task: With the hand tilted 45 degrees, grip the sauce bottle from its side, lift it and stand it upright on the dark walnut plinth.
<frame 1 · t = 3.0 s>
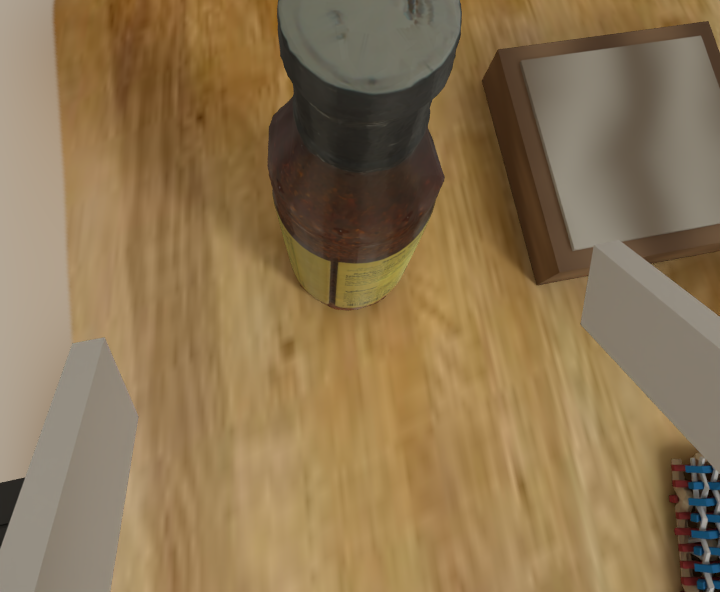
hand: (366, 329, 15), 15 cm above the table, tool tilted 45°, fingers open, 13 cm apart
sauce bottle: (343, 259, 31), on the table
walnut plinth: (610, 162, 34), on the table
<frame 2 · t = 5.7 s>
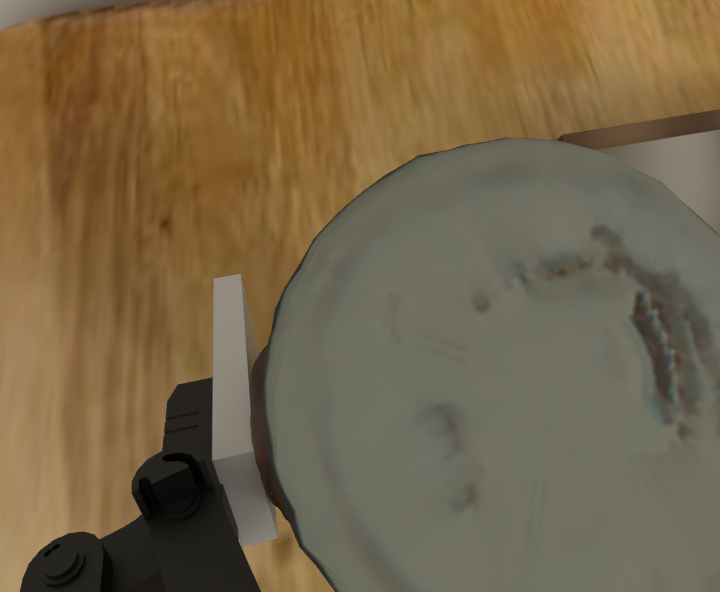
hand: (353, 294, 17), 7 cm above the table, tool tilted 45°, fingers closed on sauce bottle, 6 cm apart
sauce bottle: (357, 416, 23), on the table, touching gripper
walnut plinth: (702, 273, 26), on the table
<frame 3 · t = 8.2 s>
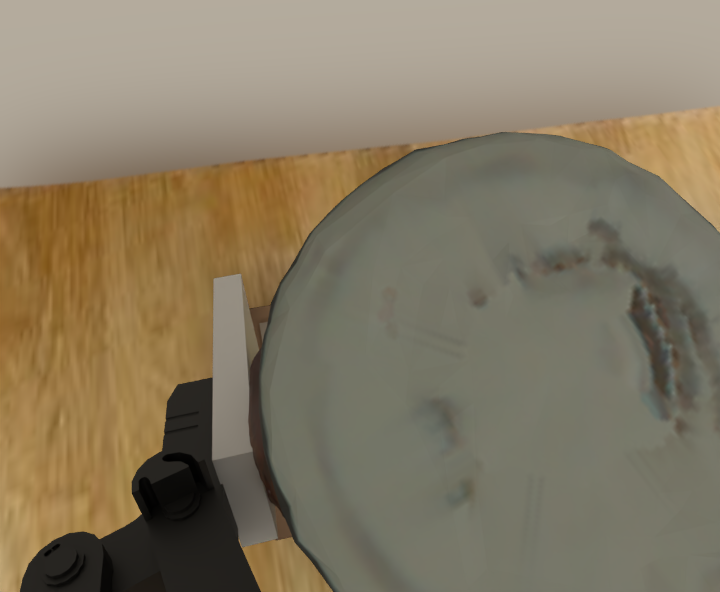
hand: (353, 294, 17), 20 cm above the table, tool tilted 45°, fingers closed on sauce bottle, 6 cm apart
sauce bottle: (356, 415, 23), point 12 cm above the table, touching gripper
walnut plinth: (362, 400, 36), on the table
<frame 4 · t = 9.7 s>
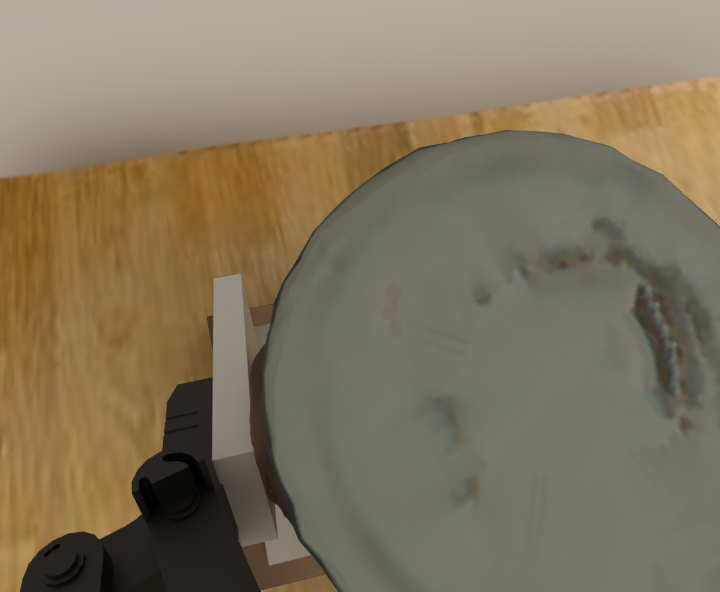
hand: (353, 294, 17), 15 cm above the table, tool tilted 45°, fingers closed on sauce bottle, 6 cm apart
sauce bottle: (356, 415, 23), point 7 cm above the table, touching gripper
walnut plinth: (356, 419, 31), on the table
when the fingers open (12 cm above the table, at t = 10.7 s): sauce bottle drops 1 cm, resting on walnut plinth.
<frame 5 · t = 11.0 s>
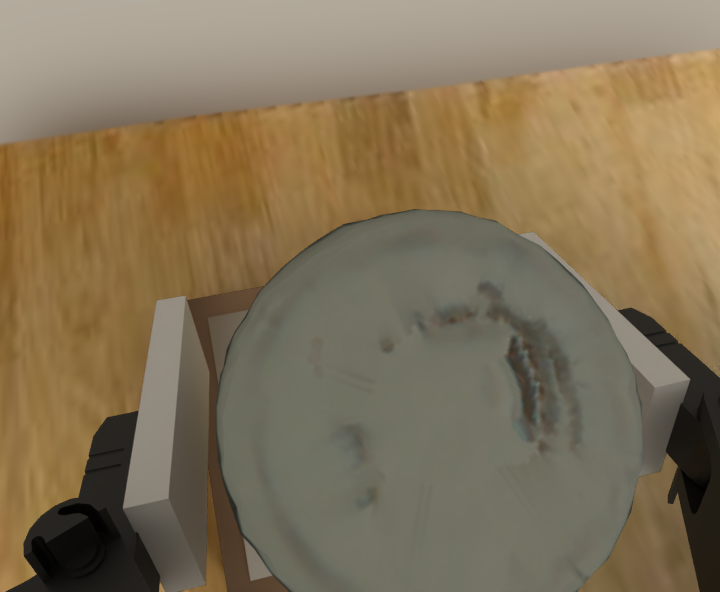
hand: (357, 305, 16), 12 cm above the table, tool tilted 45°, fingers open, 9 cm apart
sauce bottle: (350, 418, 25), point 3 cm above the table, touching walnut plinth
walnut plinth: (349, 415, 28), on the table
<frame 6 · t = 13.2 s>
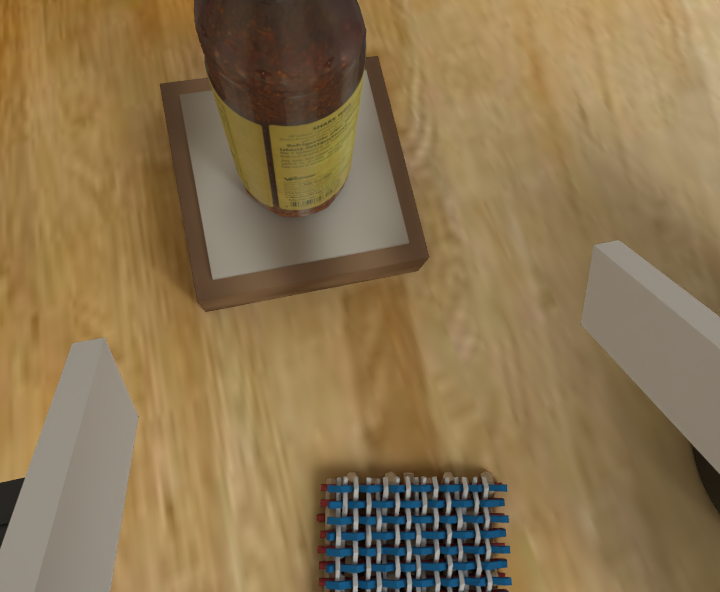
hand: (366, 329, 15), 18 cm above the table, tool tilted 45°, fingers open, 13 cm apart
woven mat: (408, 565, 32), on the table
sauce bottle: (290, 171, 32), point 3 cm above the table, touching walnut plinth
walnut plinth: (293, 190, 35), on the table
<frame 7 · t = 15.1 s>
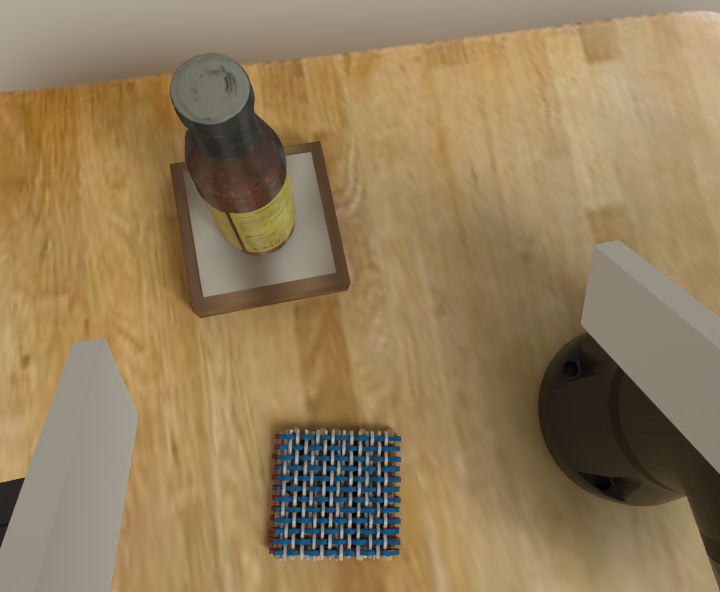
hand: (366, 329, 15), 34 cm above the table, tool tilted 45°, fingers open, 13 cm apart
woven mat: (335, 491, 47), on the table
sauce bottle: (256, 223, 47), point 3 cm above the table, touching walnut plinth
walnut plinth: (262, 233, 50), on the table
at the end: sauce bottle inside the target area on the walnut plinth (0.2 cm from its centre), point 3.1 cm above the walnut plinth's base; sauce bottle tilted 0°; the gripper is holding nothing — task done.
